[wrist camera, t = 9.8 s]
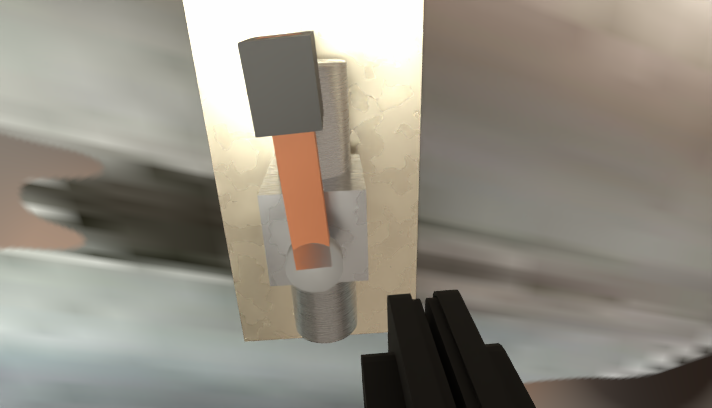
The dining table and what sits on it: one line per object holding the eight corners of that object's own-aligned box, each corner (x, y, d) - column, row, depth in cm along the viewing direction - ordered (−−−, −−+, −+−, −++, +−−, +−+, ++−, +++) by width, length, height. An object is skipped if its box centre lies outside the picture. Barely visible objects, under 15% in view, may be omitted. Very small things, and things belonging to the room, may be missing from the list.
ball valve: (412, 320, 42) (439, 424, 32) (247, 330, 42) (219, 440, 31) (420, -27, 30) (469, -46, 19) (186, -18, 29) (104, -33, 19)
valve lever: (344, 264, 27) (347, 304, 23) (293, 270, 27) (287, 311, 23) (315, 30, 21) (312, 34, 18) (250, 37, 21) (234, 42, 18)
